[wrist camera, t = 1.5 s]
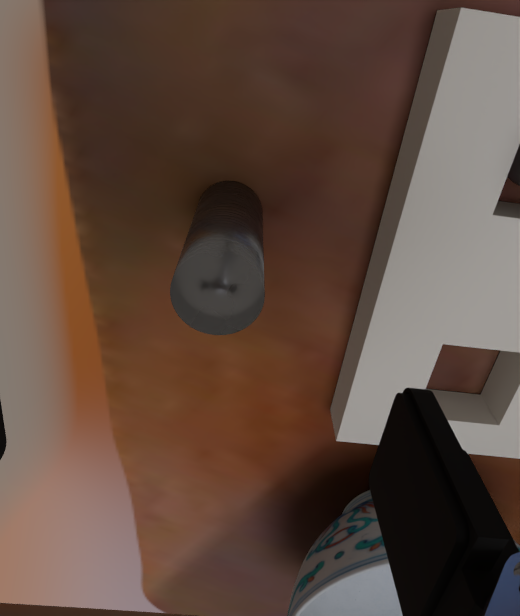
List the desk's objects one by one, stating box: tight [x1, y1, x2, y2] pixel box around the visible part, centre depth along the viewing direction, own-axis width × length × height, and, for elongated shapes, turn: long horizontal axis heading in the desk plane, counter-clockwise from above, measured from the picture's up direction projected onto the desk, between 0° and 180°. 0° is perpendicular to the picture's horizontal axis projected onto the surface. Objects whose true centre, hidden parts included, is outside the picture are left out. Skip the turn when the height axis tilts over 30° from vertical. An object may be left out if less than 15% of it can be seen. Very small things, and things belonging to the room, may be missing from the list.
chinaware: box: [288, 490, 520, 616], centre depth 30 cm, size 15×15×8 cm
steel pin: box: [170, 181, 265, 335], centre depth 19 cm, size 3×3×8 cm
